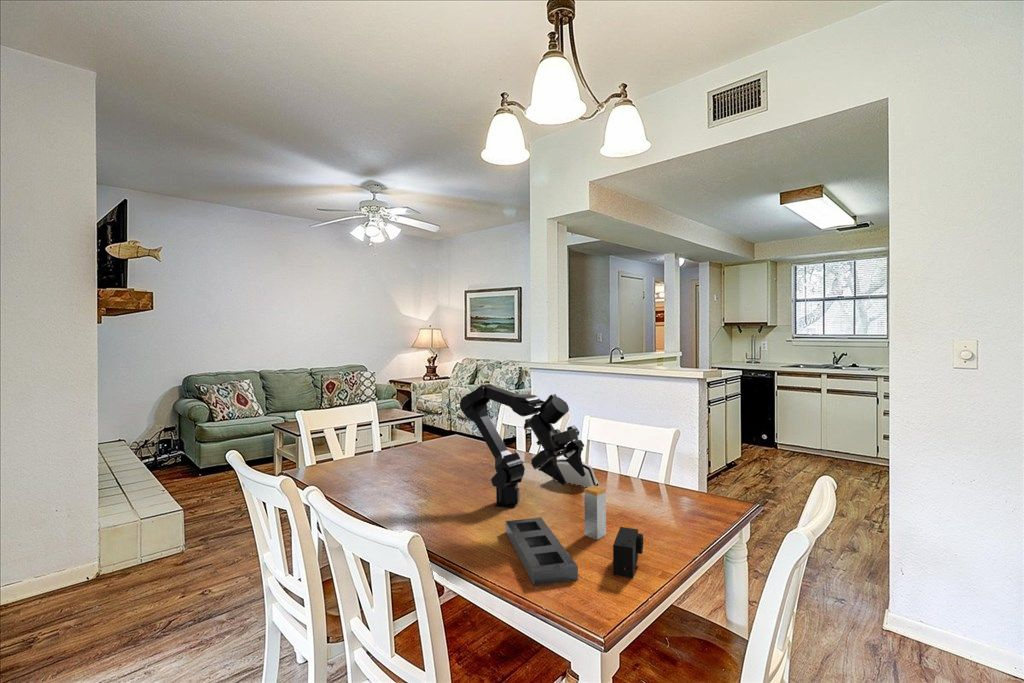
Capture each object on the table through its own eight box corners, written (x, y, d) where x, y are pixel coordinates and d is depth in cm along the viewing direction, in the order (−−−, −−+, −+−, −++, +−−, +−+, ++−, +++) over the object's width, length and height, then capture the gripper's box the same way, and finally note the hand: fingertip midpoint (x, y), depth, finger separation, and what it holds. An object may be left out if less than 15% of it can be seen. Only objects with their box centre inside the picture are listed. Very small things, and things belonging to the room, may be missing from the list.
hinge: (599, 485, 166) (594, 460, 163) (593, 493, 163) (588, 468, 160) (559, 476, 177) (554, 453, 174) (553, 483, 173) (547, 460, 170)
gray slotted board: (505, 532, 129) (505, 521, 128) (541, 528, 131) (540, 517, 131) (534, 586, 101) (533, 572, 101) (578, 579, 104) (577, 566, 103)
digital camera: (638, 580, 103) (638, 548, 103) (613, 575, 105) (613, 544, 105) (643, 558, 113) (643, 529, 113) (620, 554, 115) (620, 526, 115)
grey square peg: (584, 535, 126) (584, 488, 126) (593, 530, 129) (593, 485, 128) (597, 539, 123) (596, 492, 123) (606, 535, 126) (605, 488, 126)
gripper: (541, 422, 127) (573, 473, 121) (580, 412, 141) (611, 457, 134) (518, 444, 133) (547, 494, 126) (558, 433, 147) (586, 477, 140)
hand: (574, 479), depth 132 cm, fingers open, 9 cm apart
